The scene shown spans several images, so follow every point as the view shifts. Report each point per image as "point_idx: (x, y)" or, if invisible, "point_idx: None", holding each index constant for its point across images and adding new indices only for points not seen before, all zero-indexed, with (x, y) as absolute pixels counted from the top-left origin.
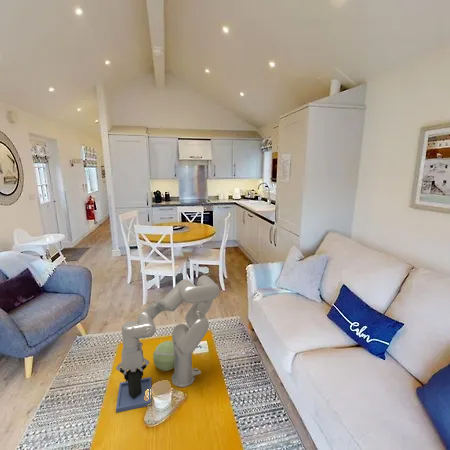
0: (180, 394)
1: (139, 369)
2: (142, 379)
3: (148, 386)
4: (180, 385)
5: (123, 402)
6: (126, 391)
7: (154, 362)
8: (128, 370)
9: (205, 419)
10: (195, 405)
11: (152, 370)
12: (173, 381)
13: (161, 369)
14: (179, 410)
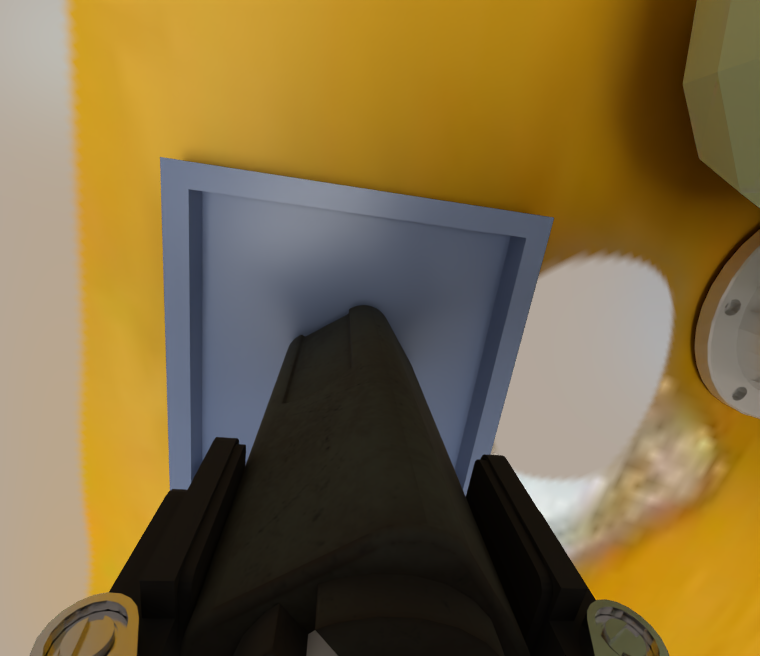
0: (685, 460)
1: (526, 650)
2: (449, 219)
3: (484, 304)
4: (740, 410)
5: (239, 410)
6: (261, 287)
7: (750, 64)
8: (218, 632)
9: (713, 641)
10: (720, 560)
11: (584, 43)
12: (714, 346)
13: (716, 172)
14: (619, 566)
